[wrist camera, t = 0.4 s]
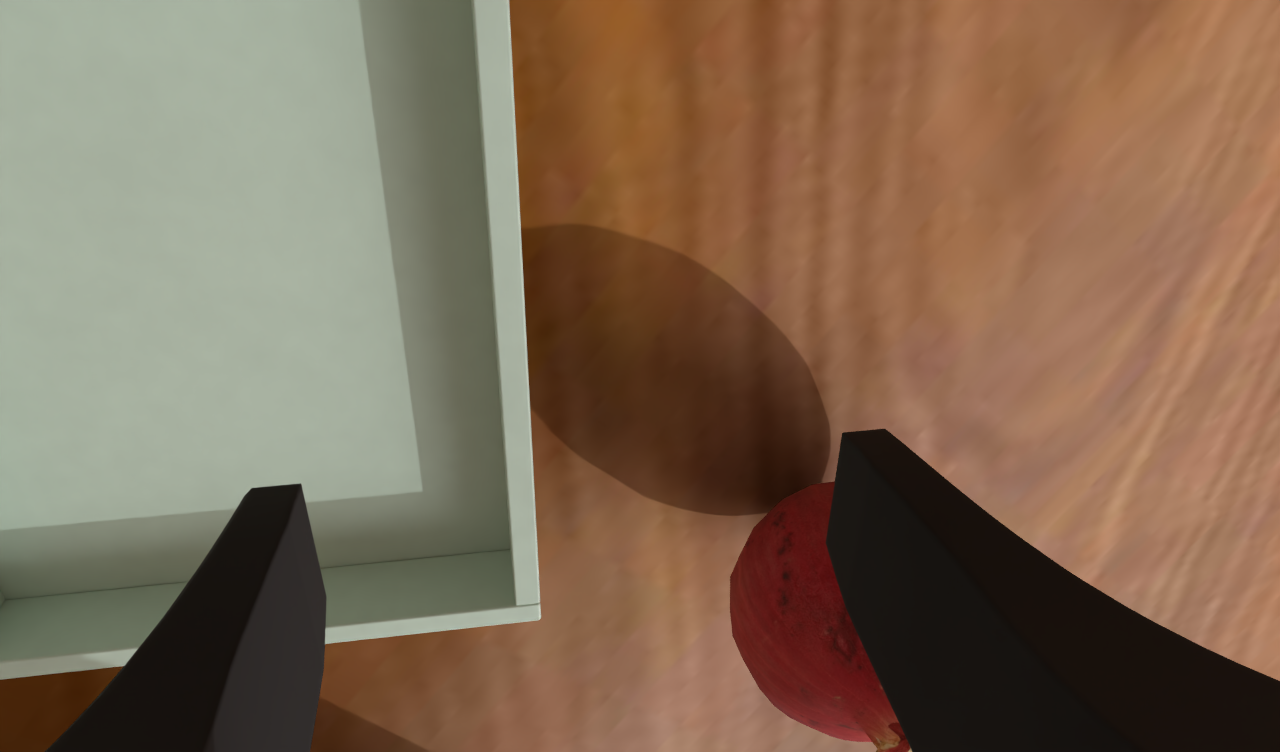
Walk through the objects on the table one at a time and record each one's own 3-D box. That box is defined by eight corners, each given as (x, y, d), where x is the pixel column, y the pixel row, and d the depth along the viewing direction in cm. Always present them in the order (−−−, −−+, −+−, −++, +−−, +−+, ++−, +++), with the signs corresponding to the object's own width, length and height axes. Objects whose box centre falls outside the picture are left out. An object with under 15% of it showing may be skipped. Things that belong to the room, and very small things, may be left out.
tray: (532, 546, 28) (541, 621, 26) (-5, 600, 26) (-43, 685, 24) (492, -189, 18) (500, -168, 16) (-379, -189, 16) (-501, -164, 14)
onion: (701, 431, 26) (789, 687, 20) (920, 404, 27) (1074, 643, 20) (701, 593, 30) (776, 857, 23) (896, 565, 30) (1021, 814, 24)
